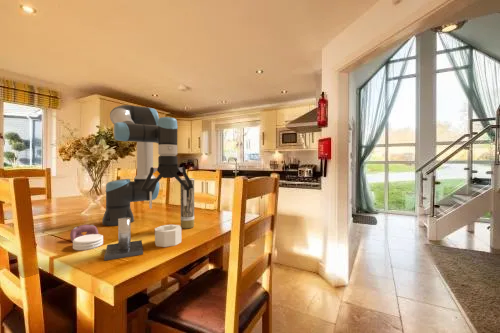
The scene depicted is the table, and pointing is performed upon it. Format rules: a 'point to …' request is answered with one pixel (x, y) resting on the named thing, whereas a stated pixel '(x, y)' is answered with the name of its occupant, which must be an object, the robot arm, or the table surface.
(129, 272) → the table surface
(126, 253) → the post stand
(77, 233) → the purple curved piece
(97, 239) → the coaster
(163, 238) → the ring
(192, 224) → the paper tube
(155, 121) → the robot arm
